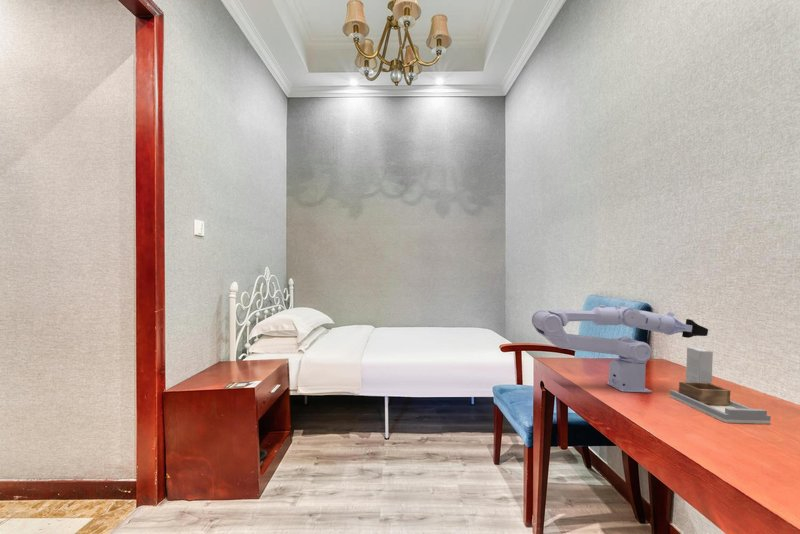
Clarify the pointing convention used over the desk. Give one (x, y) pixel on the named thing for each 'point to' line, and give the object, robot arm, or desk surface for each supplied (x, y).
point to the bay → (726, 410)
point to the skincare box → (699, 365)
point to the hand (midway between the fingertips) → (696, 330)
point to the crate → (705, 393)
